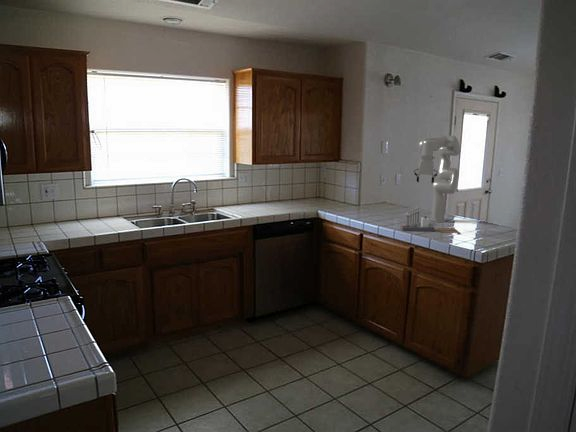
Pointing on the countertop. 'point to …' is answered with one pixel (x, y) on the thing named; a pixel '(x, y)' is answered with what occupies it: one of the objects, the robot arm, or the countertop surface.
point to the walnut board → (448, 230)
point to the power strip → (416, 228)
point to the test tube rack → (413, 216)
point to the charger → (425, 222)
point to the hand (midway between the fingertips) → (425, 182)
